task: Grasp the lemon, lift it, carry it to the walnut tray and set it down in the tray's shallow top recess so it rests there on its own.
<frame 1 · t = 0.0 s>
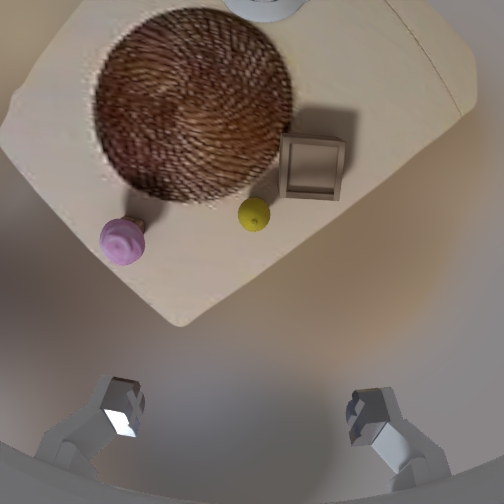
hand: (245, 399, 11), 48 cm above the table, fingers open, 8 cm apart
lemon: (254, 205, 58), on the table
walnut tray: (307, 161, 54), on the table
cupcake: (134, 227, 61), on the table
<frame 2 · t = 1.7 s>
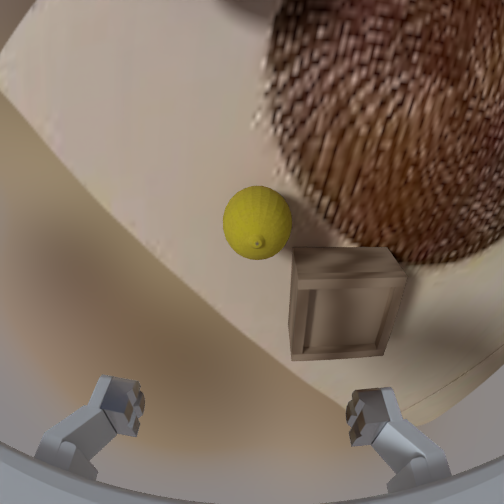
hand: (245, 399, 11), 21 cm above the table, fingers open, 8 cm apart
lemon: (258, 203, 29), on the table
walnut tray: (335, 287, 33), on the table
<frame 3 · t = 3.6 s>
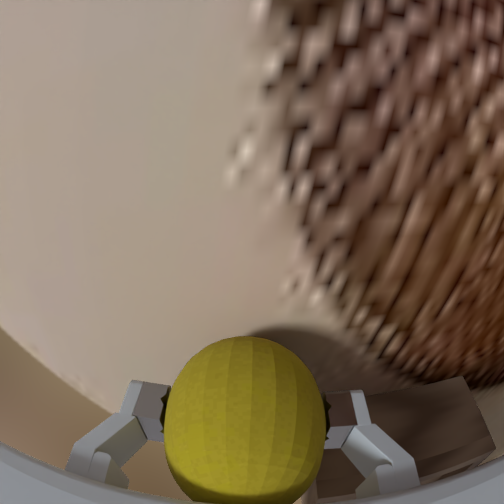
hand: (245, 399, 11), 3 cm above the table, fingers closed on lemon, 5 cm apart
lemon: (248, 341, 13), on the table, touching gripper
walnut tray: (374, 429, 18), on the table
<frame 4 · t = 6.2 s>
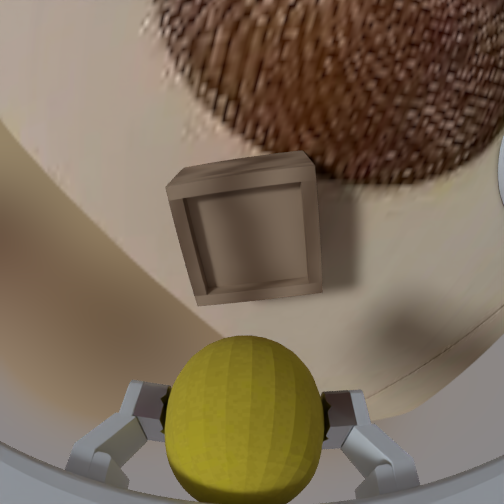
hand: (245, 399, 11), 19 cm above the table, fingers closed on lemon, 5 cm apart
lemon: (248, 341, 14), point 16 cm above the table, touching gripper
walnut tray: (251, 212, 28), on the table
when the fingers open (9 cm above the table, at t = 8.4 s): lemon drops 1 cm, resting on walnut tray.
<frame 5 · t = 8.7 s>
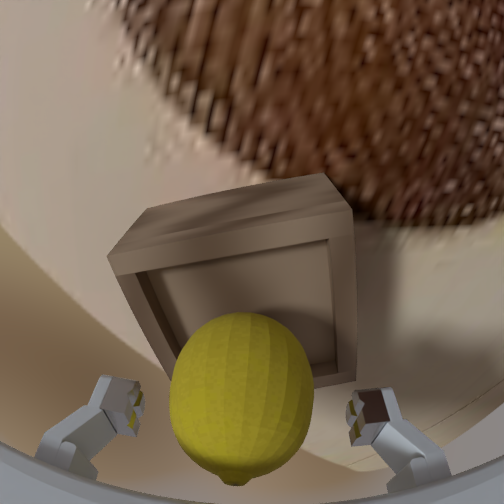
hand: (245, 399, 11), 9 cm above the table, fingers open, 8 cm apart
lemon: (248, 317, 15), point 4 cm above the table, touching walnut tray
walnut tray: (250, 265, 19), on the table, touching lemon
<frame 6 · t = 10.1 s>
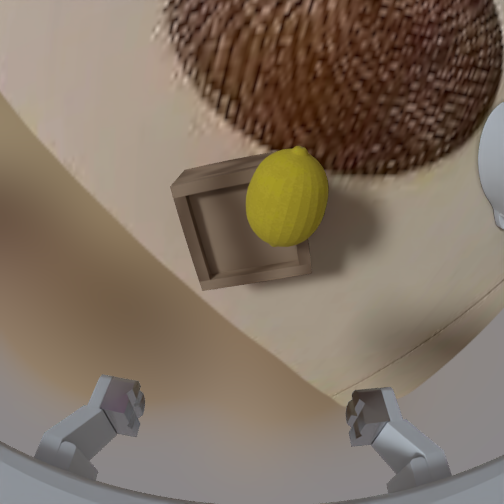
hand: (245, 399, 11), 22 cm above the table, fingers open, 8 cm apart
lemon: (272, 247, 24), point 8 cm above the table
walnut tray: (246, 206, 31), on the table
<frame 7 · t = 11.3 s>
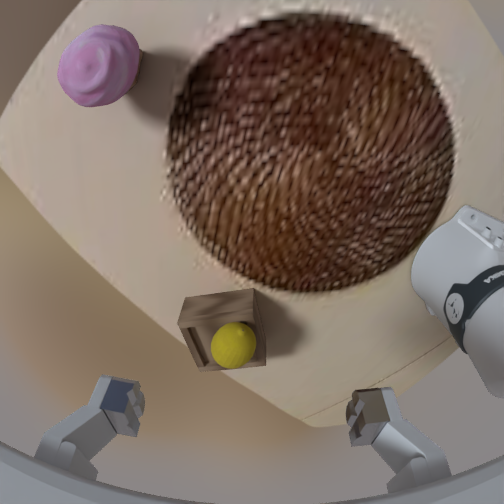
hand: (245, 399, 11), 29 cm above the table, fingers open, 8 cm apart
lemon: (224, 359, 42), point 6 cm above the table, touching walnut tray
walnut tray: (227, 317, 47), on the table, touching lemon
cupcake: (123, 67, 30), on the table
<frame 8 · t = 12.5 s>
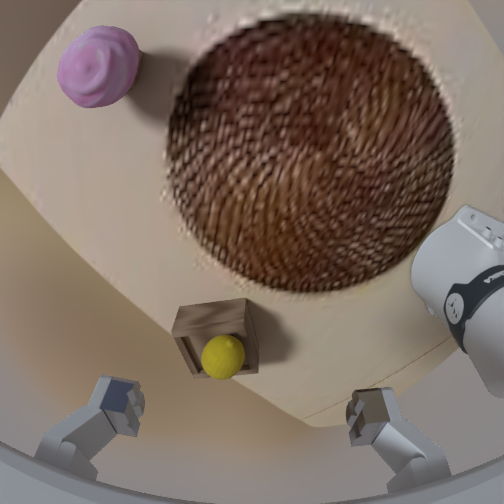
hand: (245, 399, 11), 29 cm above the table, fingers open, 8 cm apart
lemon: (214, 371, 43), point 7 cm above the table, touching walnut tray
walnut tray: (220, 326, 48), on the table, touching lemon
cupcake: (123, 68, 30), on the table
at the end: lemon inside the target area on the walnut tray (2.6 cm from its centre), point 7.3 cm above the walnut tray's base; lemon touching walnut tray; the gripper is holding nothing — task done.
